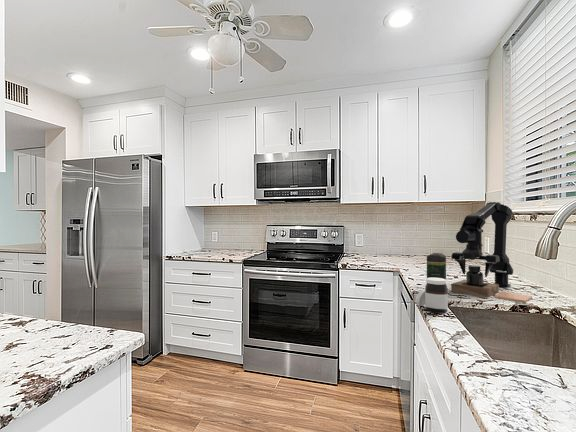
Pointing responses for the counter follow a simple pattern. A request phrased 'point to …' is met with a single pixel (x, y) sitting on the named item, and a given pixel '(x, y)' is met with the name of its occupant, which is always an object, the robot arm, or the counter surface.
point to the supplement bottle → (474, 276)
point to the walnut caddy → (475, 289)
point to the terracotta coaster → (513, 297)
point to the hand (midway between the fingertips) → (474, 275)
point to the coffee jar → (436, 266)
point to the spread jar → (434, 295)
